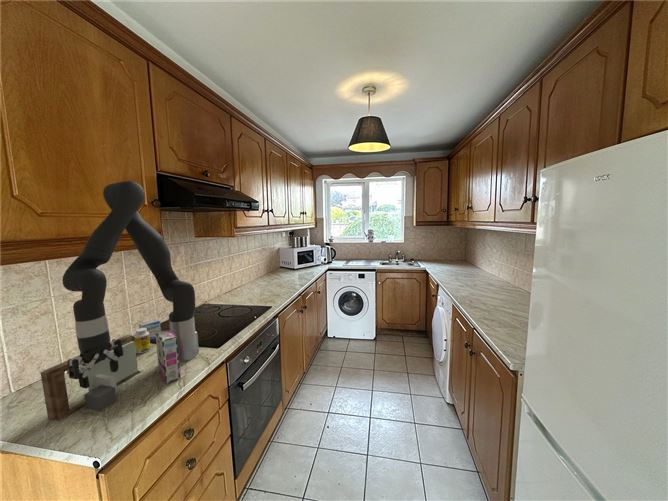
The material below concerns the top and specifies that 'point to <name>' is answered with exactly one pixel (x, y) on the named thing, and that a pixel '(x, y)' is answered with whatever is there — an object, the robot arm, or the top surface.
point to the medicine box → (151, 328)
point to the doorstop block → (100, 398)
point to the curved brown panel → (57, 388)
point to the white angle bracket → (105, 377)
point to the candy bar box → (167, 355)
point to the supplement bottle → (142, 340)
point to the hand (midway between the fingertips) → (100, 379)
